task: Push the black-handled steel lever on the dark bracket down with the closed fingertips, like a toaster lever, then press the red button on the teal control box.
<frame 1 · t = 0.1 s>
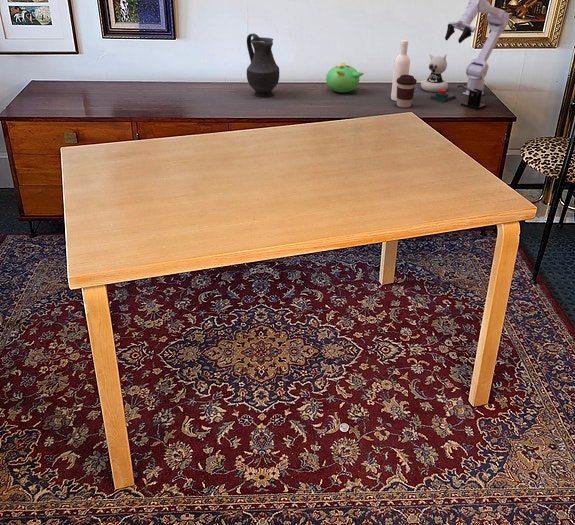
hand: (452, 40, 312), 32 cm above the table, tool tilted 50°, fingers open, 7 cm apart
lever: (469, 90, 325), point 8 cm above the table, hinge at 15.0°
toy bird: (342, 92, 345), on the table
coffee cup: (403, 106, 325), on the table
bracket: (473, 106, 327), on the table
bottle: (398, 99, 335), on the table
pitcher: (261, 94, 339), on the table
decorative figurine: (433, 90, 351), on the table
button box: (442, 98, 337), on the table
stop button: (442, 91, 334), point 4 cm above the table, slide at 0.1 cm
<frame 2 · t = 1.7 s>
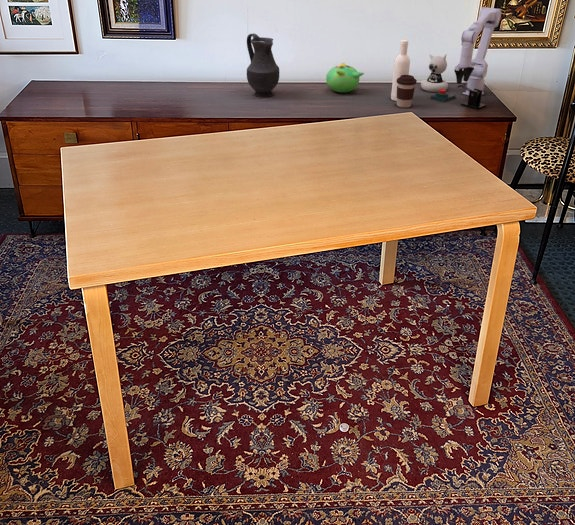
hand: (462, 82, 327), 10 cm above the table, tool pointing down, fingers open, 5 cm apart
nothing on the table moved.
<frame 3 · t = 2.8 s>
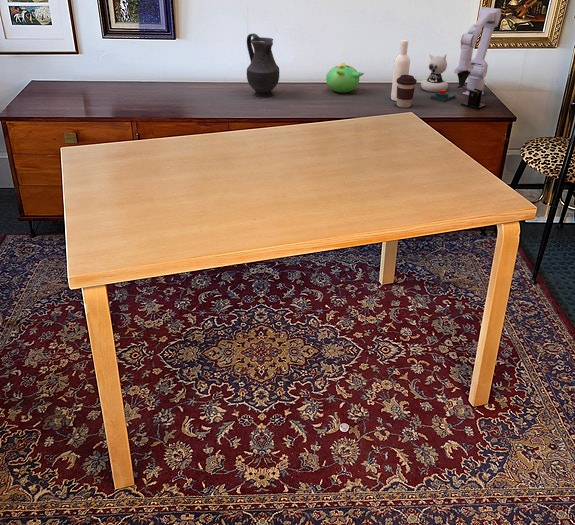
hand: (461, 85, 327), 9 cm above the table, tool pointing down, fingers closed, pressing on lever
lever: (469, 90, 325), point 7 cm above the table, hinge at 12.0°, touching gripper
everything else where it was.
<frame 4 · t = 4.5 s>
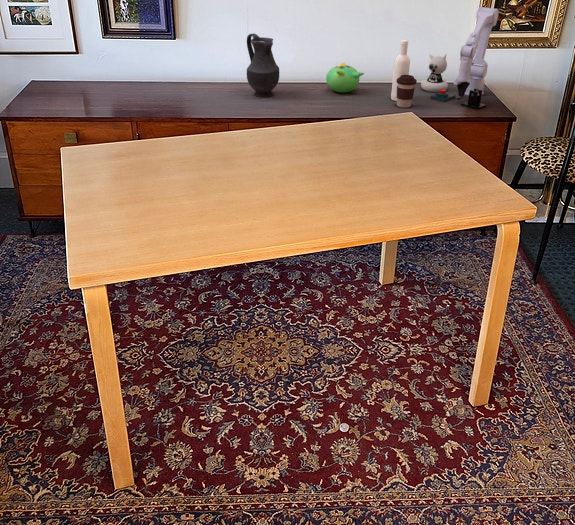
hand: (460, 96, 330), 3 cm above the table, tool pointing down, fingers closed, pressing on lever
lever: (468, 95, 326), point 5 cm above the table, hinge at -27.5°, touching gripper
everything else where it was.
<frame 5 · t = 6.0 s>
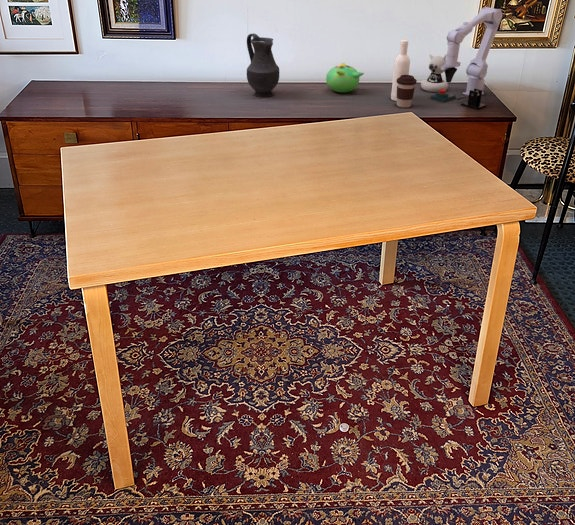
hand: (448, 82, 330), 9 cm above the table, tool pointing down, fingers closed
lever: (468, 95, 326), point 5 cm above the table, hinge at -27.5°
everything else where it was.
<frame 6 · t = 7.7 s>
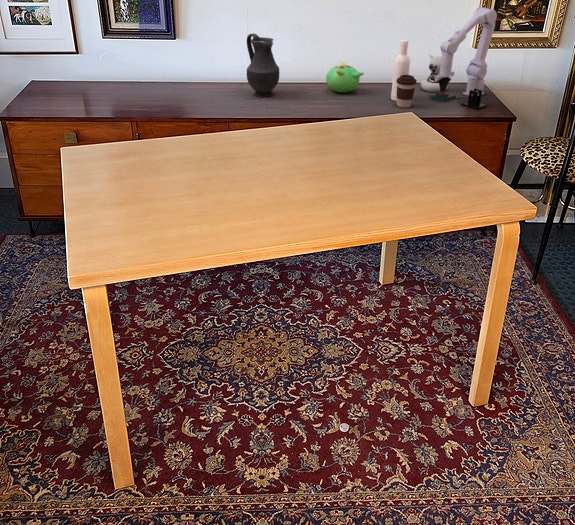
hand: (442, 91, 334), 4 cm above the table, tool pointing down, fingers closed, pressing on stop button
stop button: (442, 93, 335), point 3 cm above the table, slide at -0.7 cm, touching gripper
everything else where it was.
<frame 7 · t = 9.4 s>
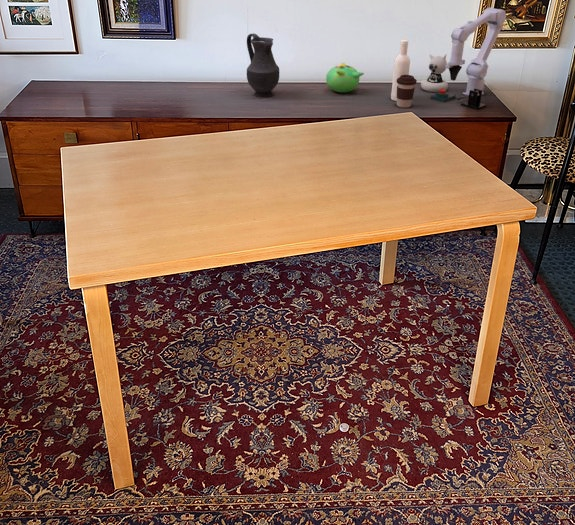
hand: (453, 80, 331), 10 cm above the table, tool pointing down, fingers closed
stop button: (442, 91, 334), point 4 cm above the table, slide at 0.1 cm
everything else where it was.
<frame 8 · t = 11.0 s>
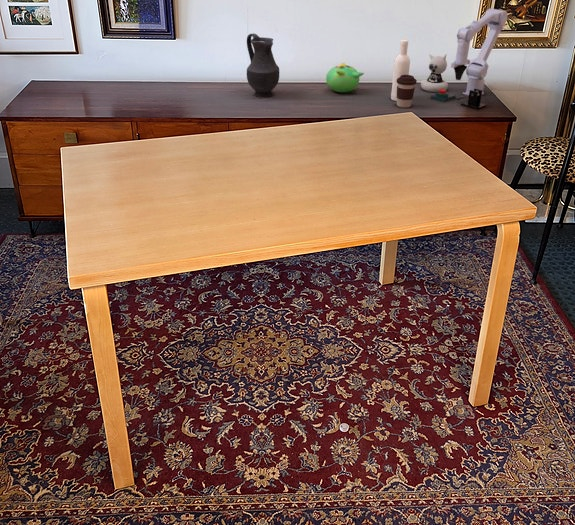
hand: (458, 79, 331), 10 cm above the table, tool pointing down, fingers closed
nothing on the table moved.
at the end: lever at -28° (first picture: +15°); stop button pushed in 1.2 cm at the most during the clip, back to where it started at the end; stop button slide at 0.1 cm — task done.
